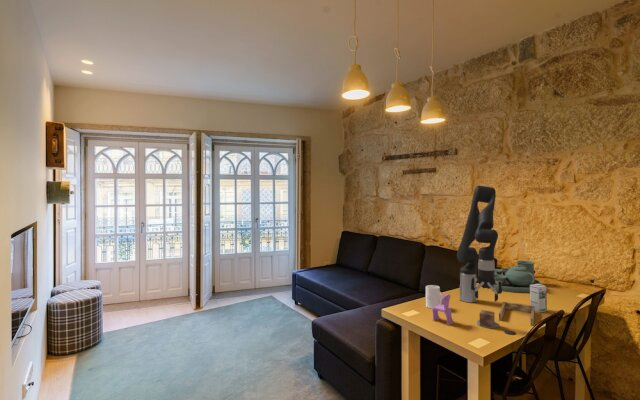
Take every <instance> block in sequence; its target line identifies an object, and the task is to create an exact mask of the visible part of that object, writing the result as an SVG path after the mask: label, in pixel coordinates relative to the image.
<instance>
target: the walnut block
mask: <svg viewBox="0 0 640 400" xmlns="http://www.w3.org/2000/svg"><path fill="white" fill-rule="evenodd" d="M479 320H480V325H482V326H487V327H493V326H494V324H495V322H496V321H495V311H491V310H484V309H481V310H480V311H479Z"/></svg>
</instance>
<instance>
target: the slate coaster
mask: <svg viewBox="0 0 640 400" xmlns="http://www.w3.org/2000/svg"><path fill="white" fill-rule="evenodd" d="M476 325H478V326H479V327H482V328H487V329H498V328H499V323H498V322H496V321H495V324H494V326H493V327H487V326H482V325H480V319H479V320H477V321H476Z"/></svg>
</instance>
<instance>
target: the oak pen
mask: <svg viewBox="0 0 640 400" xmlns="http://www.w3.org/2000/svg"><path fill="white" fill-rule="evenodd" d="M506 310H510V311H511V310H512V311H517V312H518V311H519V312H525V313H530V327H534V322H535V314H536V313H535V312H536V311H534V306H530V305H528V304H521V303H514V302H508V301H507V302H505V301H503V302H502V304H501V308H500V310H499V313H498V321H499V322H502V321H503V317H504V315H505V312H506Z"/></svg>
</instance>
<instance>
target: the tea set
mask: <svg viewBox="0 0 640 400" xmlns="http://www.w3.org/2000/svg"><path fill="white" fill-rule="evenodd" d="M516 264H517V265H513V266H510V265H508V266H507V267H506V268H501V269H499V268H495V281H502V292H510V293H527V294H528V293H530V285H533V284H541V285H543V282H541V281H539V280H538V279H536V277H535V262H534V261H531V260H516ZM494 286H495V288H496V289H497V291H499V286H498V285H497V284H496V283H495V284H494Z"/></svg>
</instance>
